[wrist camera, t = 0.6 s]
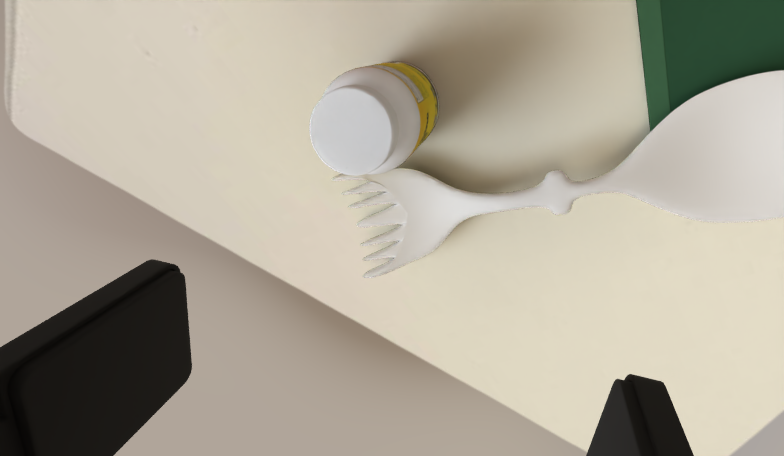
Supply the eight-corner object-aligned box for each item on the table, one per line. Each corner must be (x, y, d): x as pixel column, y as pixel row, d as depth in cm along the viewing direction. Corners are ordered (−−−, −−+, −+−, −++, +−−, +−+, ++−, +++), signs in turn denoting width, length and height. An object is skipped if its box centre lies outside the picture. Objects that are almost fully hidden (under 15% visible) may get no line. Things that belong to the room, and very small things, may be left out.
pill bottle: (401, 164, 36) (355, 212, 26) (342, 106, 36) (273, 134, 26) (459, 104, 33) (432, 133, 24) (396, 41, 33) (342, 43, 23)
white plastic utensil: (343, 164, 37) (326, 175, 34) (852, 47, 26) (894, 49, 23) (374, 265, 40) (361, 284, 37) (848, 198, 29) (886, 217, 26)
